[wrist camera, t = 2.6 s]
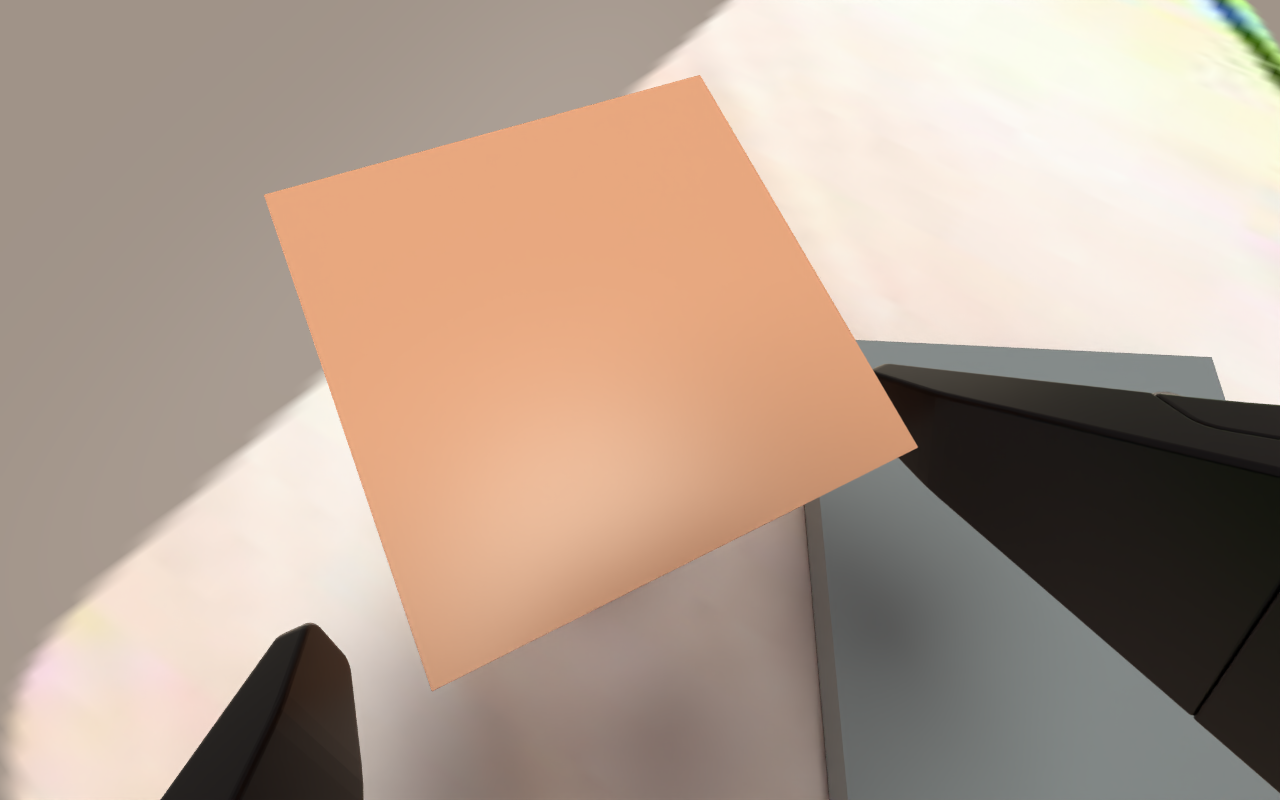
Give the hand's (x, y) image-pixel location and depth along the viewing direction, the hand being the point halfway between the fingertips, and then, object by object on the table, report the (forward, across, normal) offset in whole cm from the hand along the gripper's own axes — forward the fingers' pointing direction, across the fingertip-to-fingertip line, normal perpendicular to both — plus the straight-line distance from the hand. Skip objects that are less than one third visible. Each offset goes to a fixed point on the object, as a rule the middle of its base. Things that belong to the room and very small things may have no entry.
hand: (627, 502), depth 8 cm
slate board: (+1, -13, +12) cm, 18 cm away
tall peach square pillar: (+8, 0, +5) cm, 9 cm away
